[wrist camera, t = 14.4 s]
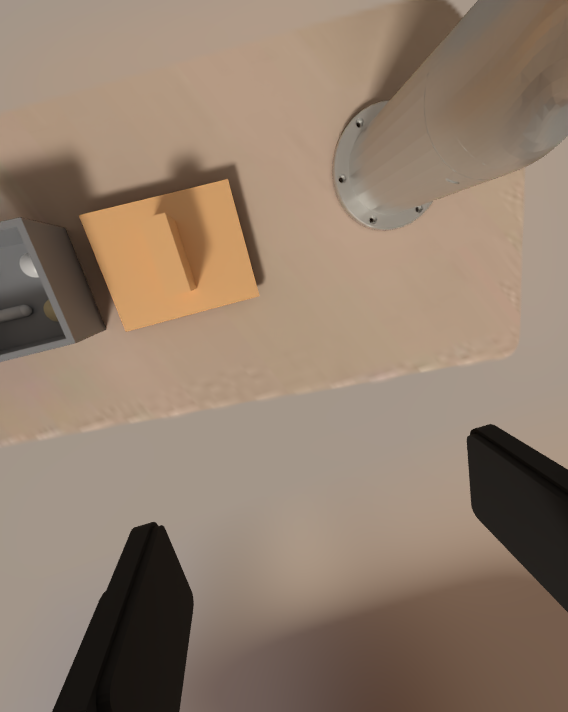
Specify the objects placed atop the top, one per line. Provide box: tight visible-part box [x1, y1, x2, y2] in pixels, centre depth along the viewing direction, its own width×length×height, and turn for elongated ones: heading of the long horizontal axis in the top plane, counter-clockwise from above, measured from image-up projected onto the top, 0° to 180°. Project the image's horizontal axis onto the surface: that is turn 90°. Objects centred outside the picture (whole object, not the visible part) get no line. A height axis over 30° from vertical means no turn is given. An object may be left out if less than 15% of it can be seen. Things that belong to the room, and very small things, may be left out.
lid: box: [79, 179, 259, 332], centre depth 32 cm, size 15×12×6 cm
